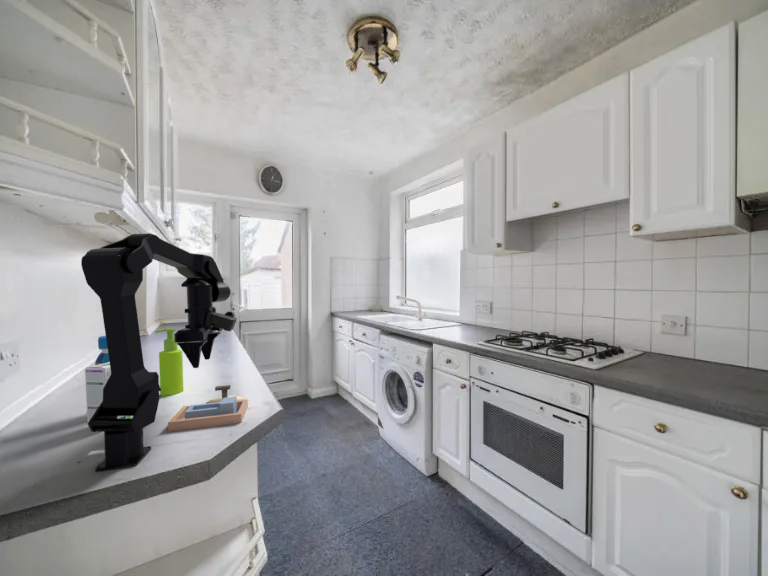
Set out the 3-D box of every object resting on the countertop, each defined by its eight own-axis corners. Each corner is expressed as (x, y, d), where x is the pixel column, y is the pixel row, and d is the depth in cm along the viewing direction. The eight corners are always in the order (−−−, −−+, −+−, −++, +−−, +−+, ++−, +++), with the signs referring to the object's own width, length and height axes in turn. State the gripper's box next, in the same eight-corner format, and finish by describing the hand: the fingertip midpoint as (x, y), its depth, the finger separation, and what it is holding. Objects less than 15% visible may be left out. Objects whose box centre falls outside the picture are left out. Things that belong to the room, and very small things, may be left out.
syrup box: (106, 430, 74) (105, 367, 73) (86, 429, 75) (84, 366, 75) (131, 420, 79) (129, 361, 79) (111, 418, 80) (109, 360, 80)
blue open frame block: (185, 425, 74) (184, 407, 74) (191, 417, 79) (190, 401, 79) (233, 419, 77) (233, 402, 77) (236, 412, 82) (236, 396, 82)
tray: (241, 424, 75) (241, 414, 75) (168, 433, 71) (168, 422, 71) (248, 409, 85) (247, 399, 85) (183, 416, 81) (183, 406, 81)
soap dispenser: (154, 395, 98) (152, 329, 98) (181, 389, 102) (179, 326, 102) (157, 400, 93) (155, 330, 93) (185, 394, 98) (183, 328, 98)
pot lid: (241, 408, 85) (241, 389, 85) (199, 413, 83) (198, 394, 83) (247, 396, 95) (246, 379, 95) (209, 399, 93) (209, 382, 92)
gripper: (224, 305, 77) (226, 370, 78) (240, 301, 95) (242, 353, 96) (172, 307, 75) (174, 374, 75) (198, 302, 93) (200, 356, 93)
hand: (202, 363), depth 85 cm, fingers open, 9 cm apart
